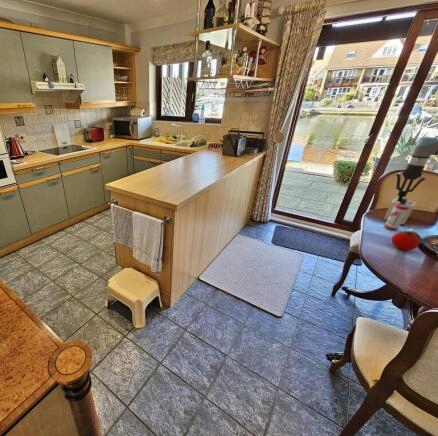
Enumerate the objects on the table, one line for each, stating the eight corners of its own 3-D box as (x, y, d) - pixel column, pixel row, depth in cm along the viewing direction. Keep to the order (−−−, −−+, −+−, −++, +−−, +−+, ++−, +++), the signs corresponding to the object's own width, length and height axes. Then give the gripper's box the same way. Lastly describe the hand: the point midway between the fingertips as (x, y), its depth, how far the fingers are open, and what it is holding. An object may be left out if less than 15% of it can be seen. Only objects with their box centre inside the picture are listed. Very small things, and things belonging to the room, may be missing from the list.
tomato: (383, 243, 138) (391, 227, 133) (399, 242, 139) (408, 227, 134) (401, 254, 128) (411, 238, 124) (419, 253, 129) (429, 237, 125)
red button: (417, 235, 138) (418, 232, 138) (415, 237, 136) (417, 235, 135) (407, 232, 141) (408, 230, 141) (405, 234, 139) (407, 232, 138)
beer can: (393, 227, 155) (406, 204, 147) (399, 232, 149) (412, 208, 142) (381, 225, 156) (393, 202, 149) (386, 230, 151) (399, 206, 144)
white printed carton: (407, 220, 163) (416, 202, 157) (403, 225, 156) (412, 207, 151) (387, 215, 170) (395, 197, 165) (382, 220, 164) (390, 202, 158)
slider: (405, 203, 156) (407, 199, 154) (404, 204, 154) (406, 199, 153) (400, 202, 157) (402, 197, 156) (399, 203, 156) (401, 198, 155)
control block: (422, 241, 139) (425, 235, 137) (419, 246, 135) (423, 240, 133) (398, 235, 146) (401, 229, 144) (395, 239, 142) (398, 233, 140)
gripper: (400, 163, 149) (384, 199, 159) (431, 167, 140) (412, 205, 150) (403, 161, 153) (387, 196, 163) (433, 165, 144) (414, 202, 154)
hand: (399, 200), depth 157 cm, fingers closed
